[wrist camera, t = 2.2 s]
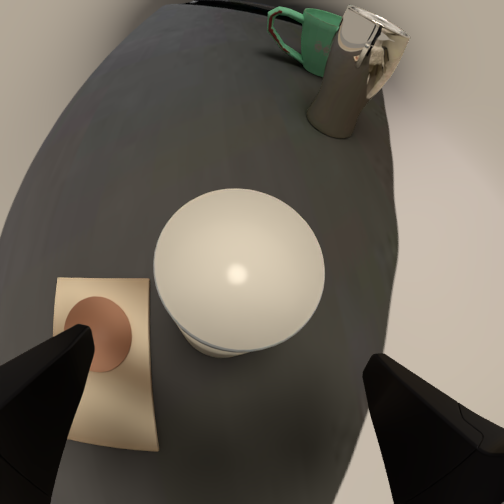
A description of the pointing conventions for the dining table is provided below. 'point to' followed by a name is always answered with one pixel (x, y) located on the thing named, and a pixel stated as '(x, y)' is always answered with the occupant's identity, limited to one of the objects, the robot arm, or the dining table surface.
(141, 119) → the dining table surface
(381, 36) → the beer glass
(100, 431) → the mat
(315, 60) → the mug
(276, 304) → the white lidded jar
